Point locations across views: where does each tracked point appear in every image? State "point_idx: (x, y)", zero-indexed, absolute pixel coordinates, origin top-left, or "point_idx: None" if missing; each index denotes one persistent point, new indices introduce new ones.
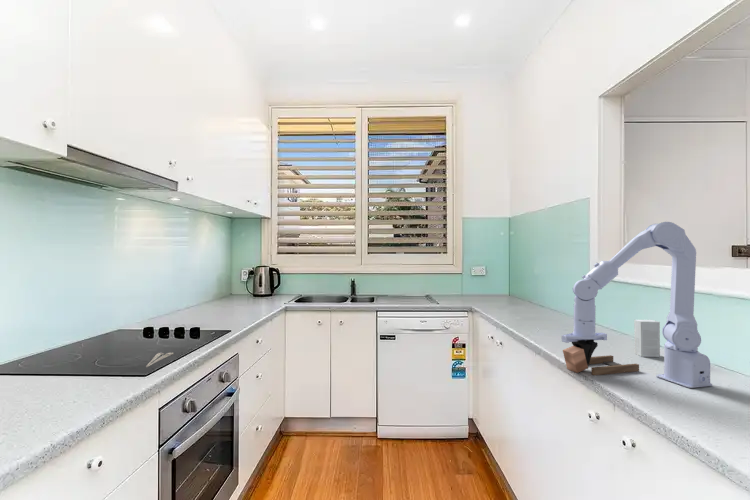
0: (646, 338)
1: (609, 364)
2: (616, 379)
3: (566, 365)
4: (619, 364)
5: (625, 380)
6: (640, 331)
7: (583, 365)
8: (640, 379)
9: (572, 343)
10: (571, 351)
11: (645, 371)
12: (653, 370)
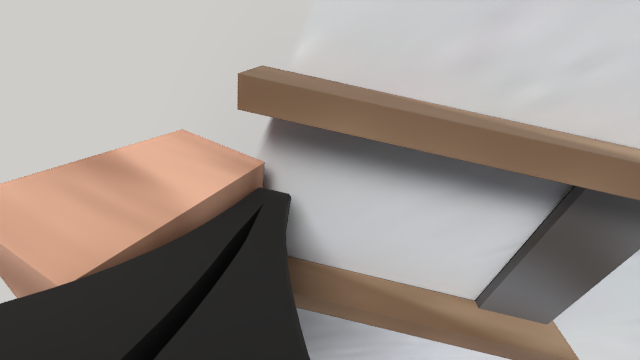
0: None
1: (549, 227)
2: (301, 316)
3: (158, 137)
4: (608, 259)
5: (325, 332)
6: None
7: None
8: (395, 352)
9: (4, 314)
10: (22, 294)
11: (567, 340)
12: (629, 353)
